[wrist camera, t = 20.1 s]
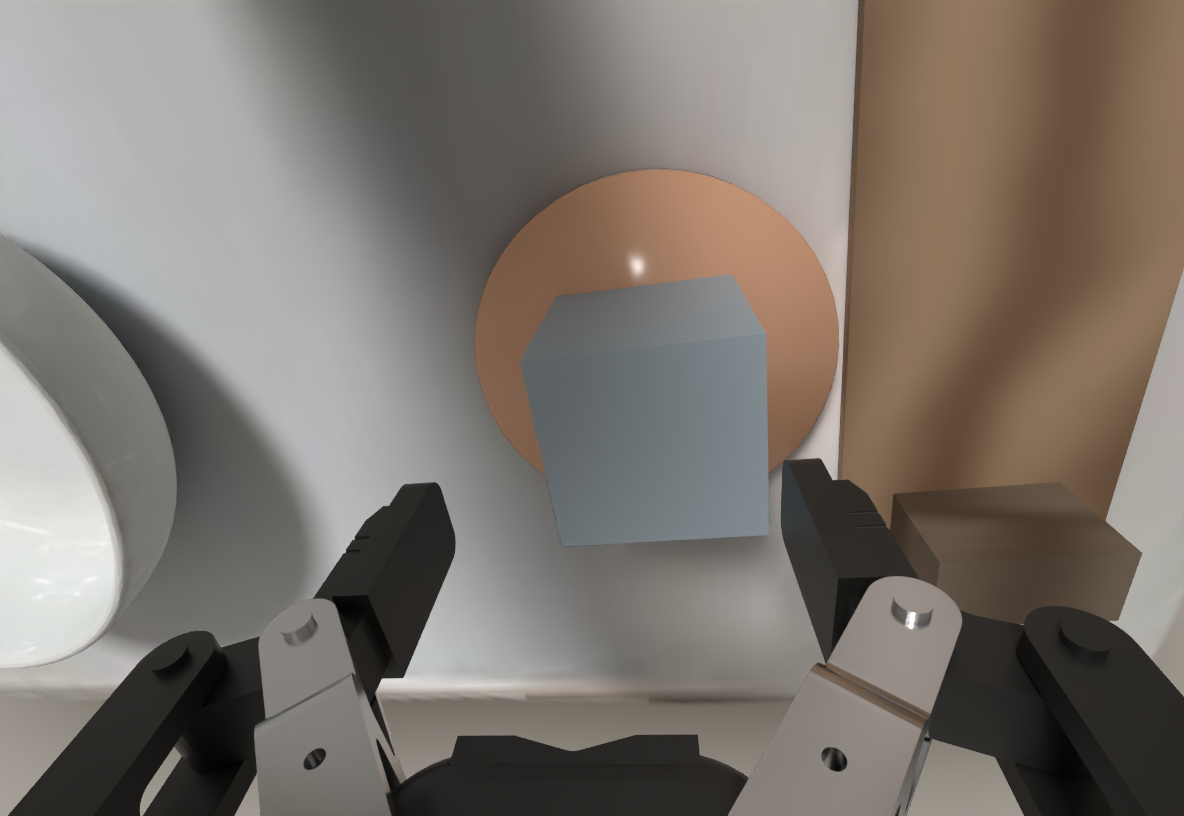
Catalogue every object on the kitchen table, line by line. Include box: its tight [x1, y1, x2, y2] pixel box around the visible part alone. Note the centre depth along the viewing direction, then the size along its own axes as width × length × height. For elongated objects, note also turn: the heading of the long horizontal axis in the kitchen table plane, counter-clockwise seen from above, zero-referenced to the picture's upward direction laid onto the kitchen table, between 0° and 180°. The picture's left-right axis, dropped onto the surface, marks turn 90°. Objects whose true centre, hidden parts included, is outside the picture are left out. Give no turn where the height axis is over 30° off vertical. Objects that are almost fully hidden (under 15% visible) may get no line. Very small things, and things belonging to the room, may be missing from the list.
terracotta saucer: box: [475, 168, 839, 476], centre depth 20 cm, size 13×13×1 cm
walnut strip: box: [838, 0, 1184, 624], centre depth 17 cm, size 10×22×4 cm, turn 9°
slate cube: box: [520, 274, 769, 547], centre depth 17 cm, size 6×6×6 cm
